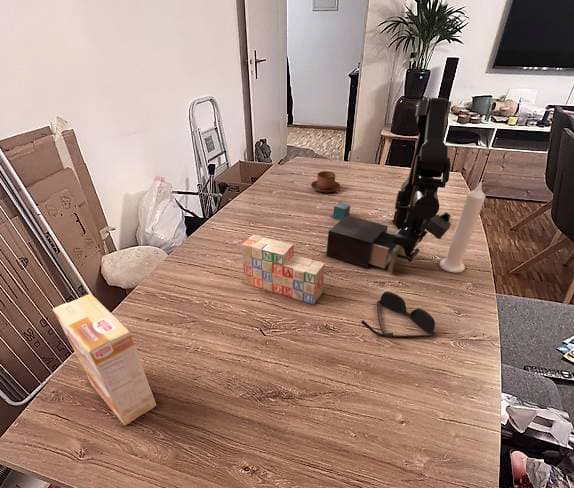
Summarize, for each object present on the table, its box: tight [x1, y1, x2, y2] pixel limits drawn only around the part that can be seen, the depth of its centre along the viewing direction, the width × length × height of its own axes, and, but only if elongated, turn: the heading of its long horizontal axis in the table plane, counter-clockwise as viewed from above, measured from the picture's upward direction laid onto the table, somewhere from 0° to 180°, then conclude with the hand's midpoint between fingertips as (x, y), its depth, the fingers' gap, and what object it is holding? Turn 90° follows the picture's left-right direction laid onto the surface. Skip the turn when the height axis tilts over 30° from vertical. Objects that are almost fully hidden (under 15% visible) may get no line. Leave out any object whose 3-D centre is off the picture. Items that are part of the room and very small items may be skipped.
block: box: [332, 202, 351, 221], centre depth 136 cm, size 4×4×4 cm
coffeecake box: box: [52, 293, 157, 426], centre depth 69 cm, size 15×7×20 cm, turn 45°
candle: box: [439, 181, 486, 274], centre depth 104 cm, size 7×7×25 cm
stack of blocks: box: [241, 234, 326, 305], centre depth 99 cm, size 21×6×12 cm, turn 62°
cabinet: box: [325, 215, 389, 270], centre depth 115 cm, size 14×13×9 cm
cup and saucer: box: [310, 170, 341, 193], centre depth 155 cm, size 12×12×6 cm
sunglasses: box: [361, 291, 436, 339], centre depth 89 cm, size 17×14×5 cm
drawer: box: [369, 230, 421, 274], centre depth 111 cm, size 17×11×7 cm
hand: (407, 256), depth 108 cm, fingers closed, pressing on drawer
